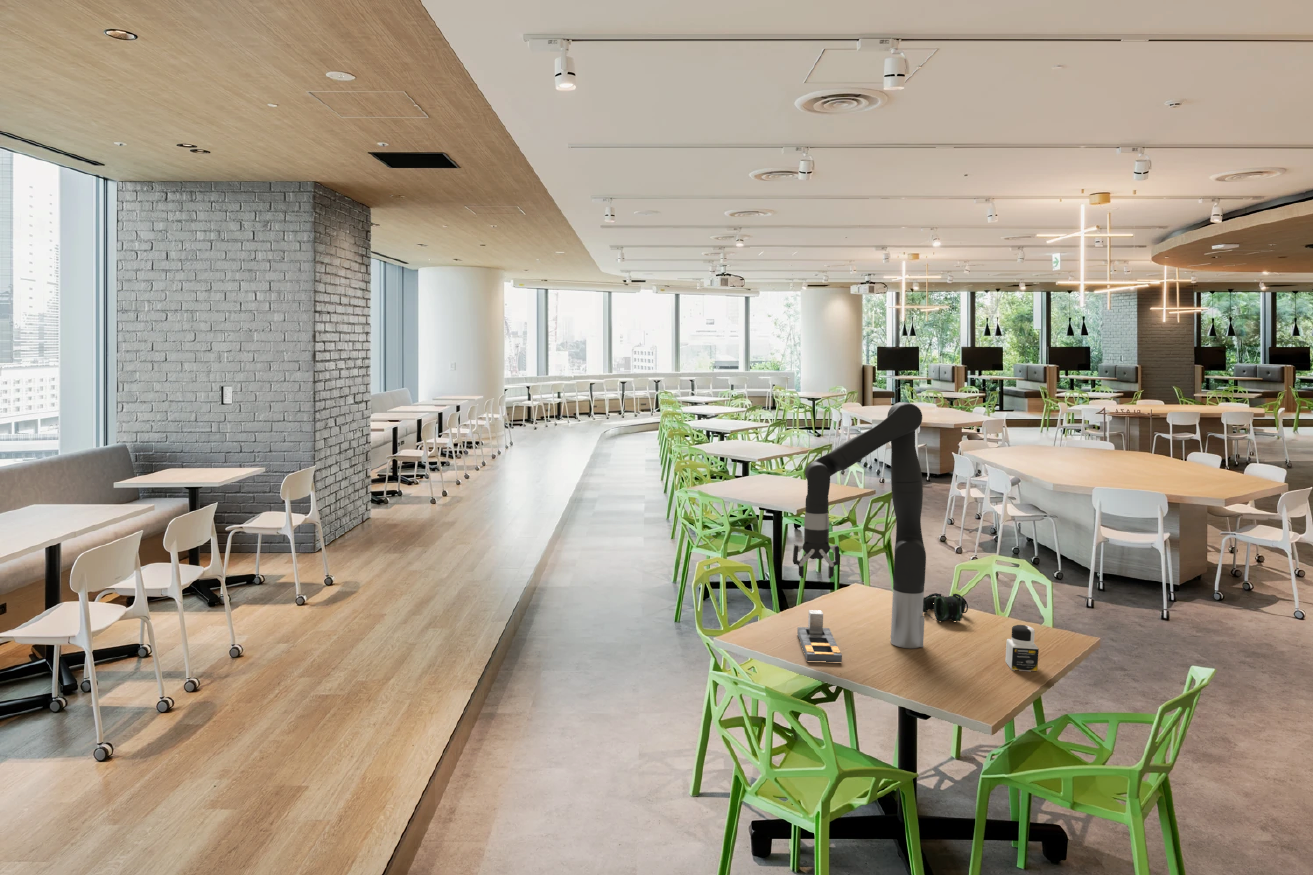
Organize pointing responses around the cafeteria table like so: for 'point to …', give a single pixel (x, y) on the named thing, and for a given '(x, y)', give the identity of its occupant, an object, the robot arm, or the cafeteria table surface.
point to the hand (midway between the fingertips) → (815, 577)
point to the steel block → (815, 622)
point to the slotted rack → (819, 646)
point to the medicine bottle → (1022, 649)
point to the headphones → (945, 606)
